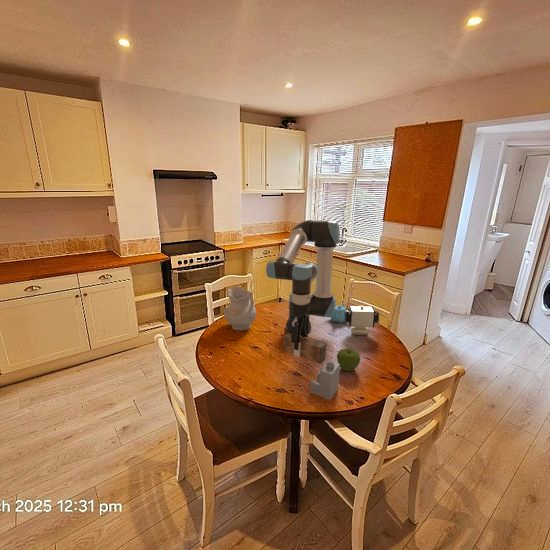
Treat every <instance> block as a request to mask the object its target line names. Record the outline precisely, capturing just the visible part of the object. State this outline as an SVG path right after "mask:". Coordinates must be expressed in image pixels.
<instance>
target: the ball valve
mask: <svg viewBox="0 0 550 550" xmlns="http://www.w3.org/2000/svg"><path fill="white" fill-rule="evenodd" d="M344 320H345V321H344V323H347V324H348V326H349V328H350V327H351V329H350V331H351V335H354V336H369V334H370V330H369V328H372V329H373V328H375V326H376V324H379V321H380V313H379V311H376V310H375V308H374V307H373V306H364V305H357V306H355V305H353V306H352V305H349V306H348V308H347V309H346V310H345V313H344Z"/></svg>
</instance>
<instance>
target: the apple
mask: <svg viewBox="0 0 550 550" xmlns="http://www.w3.org/2000/svg"><path fill="white" fill-rule="evenodd" d="M336 358H337V363H338V364H340V368H341V370H343V371H345V372H354V371H355V370H356V369H357V368H358V366H359V365H360V362H361V356H360V353H359V352H358V351H356V350H355V349H354V348H349V347H345V348H342V349H339V351H338V352H337V354H336Z"/></svg>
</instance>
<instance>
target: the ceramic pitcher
mask: <svg viewBox="0 0 550 550" xmlns="http://www.w3.org/2000/svg"><path fill="white" fill-rule="evenodd" d="M226 291H227V297H228V298H229V301H230V302H229V303H230V304H228V306H226V308H224V312H223V314H224V318H225V321H226V322H227V323H228V324H229V325H230V326H231V328H232V330H234V331H246V330H249V329H251V327H252V324H253V322H254V321H255V320H256V318H257V309H256V307H255V305H254V300H255V298H254V296H253V293H252V291H249V290H247V289H244V288H243V286H240V285H234V286H233V287H232V288H227V289H226Z"/></svg>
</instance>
